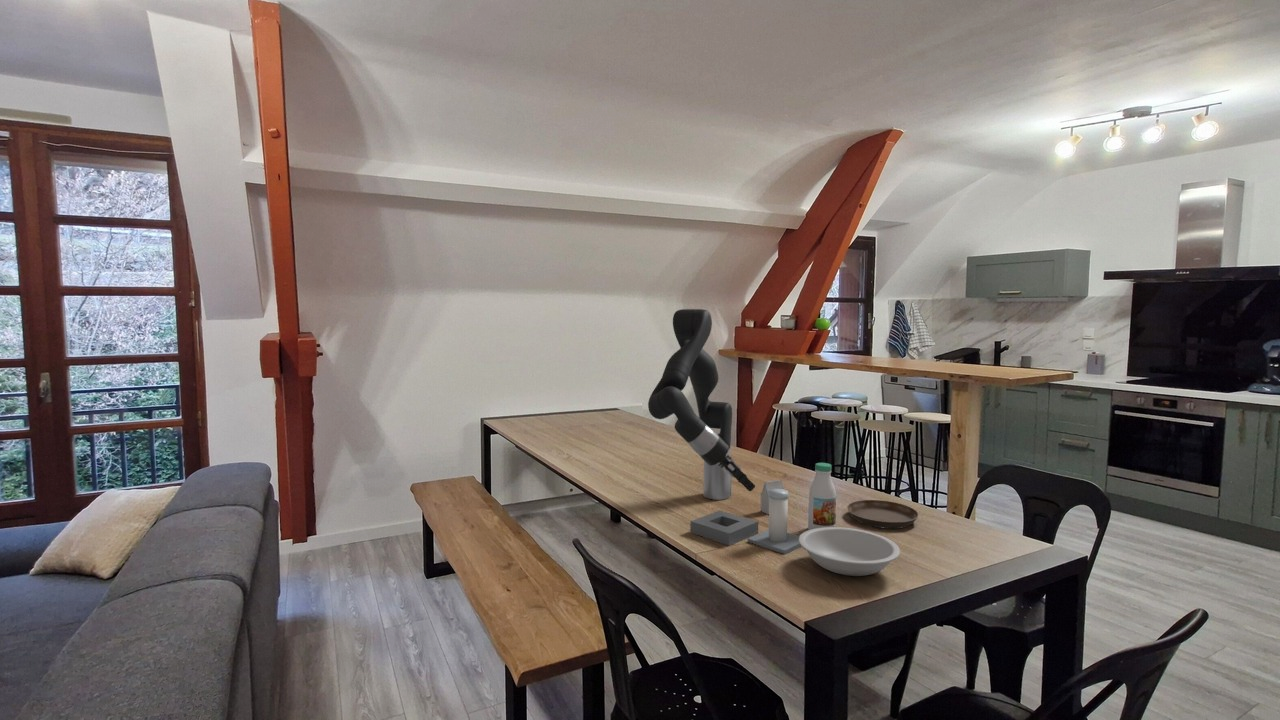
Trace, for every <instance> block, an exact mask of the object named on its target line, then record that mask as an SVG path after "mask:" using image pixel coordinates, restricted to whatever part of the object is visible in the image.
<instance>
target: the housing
mask: <svg viewBox="0 0 1280 720" xmlns="http://www.w3.org/2000/svg"><path fill="white" fill-rule="evenodd" d="M689 526H690V527H689V529H690V530H689V531H690V532H691V533H690V532H689V533H690V534H692V533H694V534H693V535H695V534H696V536H698V535H700V536H699V537H701V536H703V537H702V538H704V537H705V538H704V539H707V538H708V539H707V540H710V539H711V540H710V541H713V540H714V542H716V543H719V542H720V543H719V544H722V545H725V546H729V547H730V546H733V545H735V544H736V543H739V542H741V541H743V539H744V540H745V539H748V538H751V537H753V536H755V535H757V534H759V521H758V520H755V519H752V518H748V517H745V516H741V515H737V514H734V513H731V512H727V511H724V510H718V511H714V512H712V513H709V514H707V515H703V516H701V517H698V518H695V519H693V520H690V525H689ZM750 536H751V537H750Z"/></svg>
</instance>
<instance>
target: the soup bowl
mask: <svg viewBox="0 0 1280 720" xmlns="http://www.w3.org/2000/svg"><path fill="white" fill-rule="evenodd" d="M799 536H800V537H799V544H800V545H801V546H800V547H801V548H803V550H804V551H806V552H807V554H808V555H809V556H810V558H811V559H812V560H813V562H815V563H816V564H817V565H819V566H820V567H822V568H824V569H825V570H828V571H829V572H832V573H835V574H839V575H843V576H852V577H861V576H862V577H863V576H868V575H873V574H876V573H878V572H880V571H882V570H884V569H885V568H886V567H887V566H888V565H889V564H890V563H891V562H893V561H895V560H896V559H898V558H899V557H900V554H901V549H900V547H899V546H898V544H896V543H895V542H894V541H893V540H890V539H889V538H887V537H885V536H882V535H880V534H878V533H875V532H870V531H868V530H867V531H866V530H863V529H857V528H852V527H851V528H849V527H839V526H837V527H836V526H835V527H824V528H816V529H811V530H809V529H808V530H805V531H803V532H802V533H801V534H800V535H799Z"/></svg>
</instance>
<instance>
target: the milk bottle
mask: <svg viewBox="0 0 1280 720" xmlns="http://www.w3.org/2000/svg"><path fill="white" fill-rule="evenodd" d="M814 465H815V466H814V469H815V470H814V472H815V475H814V479H813V481H812V483H811V485H810V488H809V492H808V510H807V511H808V517H807V521H808V522H807V528H808V530H811V529H816V528H824V527H836V518H837V491H836V488H835V484H834V483H833V479H832V477H831V473H832V468H833V467H832V464H831V463H827V462H817V463H815V464H814Z"/></svg>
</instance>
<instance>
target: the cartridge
mask: <svg viewBox="0 0 1280 720" xmlns="http://www.w3.org/2000/svg"><path fill="white" fill-rule="evenodd" d="M789 492H790V491H788V490H787V489H785V488H784V489H770V490H769V515H768V530H769V539H770V540H771V541H774V542H785V541H787V533H788V513H789V511H788V509H789V508H788V506H789V505H788V504H789V501H788V500H789Z"/></svg>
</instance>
